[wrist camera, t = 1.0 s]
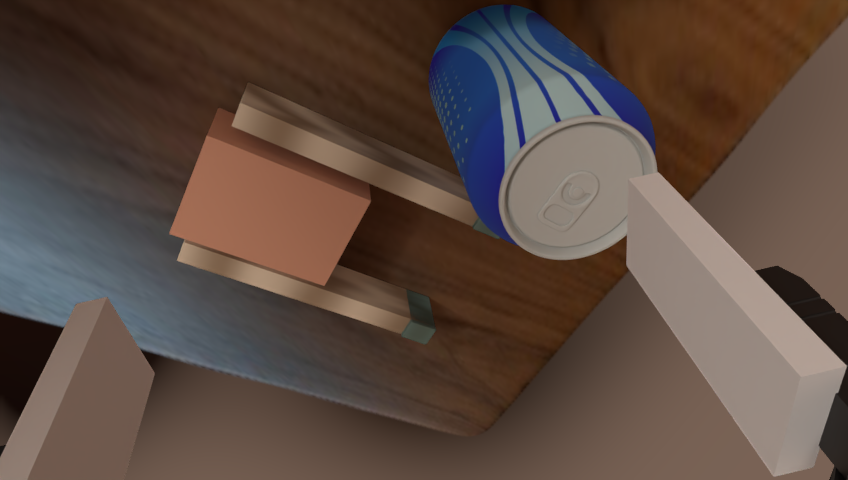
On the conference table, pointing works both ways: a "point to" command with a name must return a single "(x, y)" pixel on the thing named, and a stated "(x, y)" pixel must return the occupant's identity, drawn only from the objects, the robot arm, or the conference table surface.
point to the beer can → (539, 132)
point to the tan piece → (363, 162)
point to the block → (269, 204)
